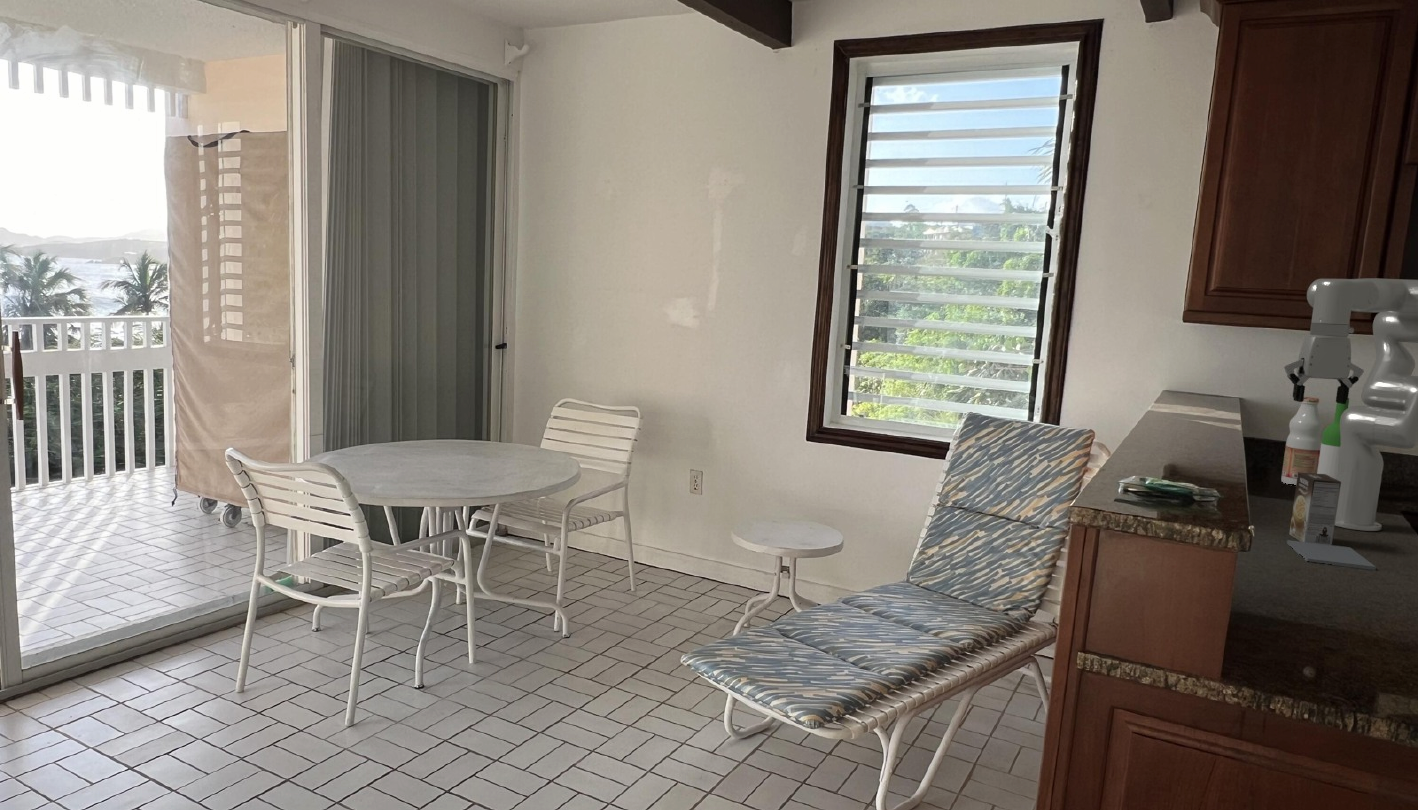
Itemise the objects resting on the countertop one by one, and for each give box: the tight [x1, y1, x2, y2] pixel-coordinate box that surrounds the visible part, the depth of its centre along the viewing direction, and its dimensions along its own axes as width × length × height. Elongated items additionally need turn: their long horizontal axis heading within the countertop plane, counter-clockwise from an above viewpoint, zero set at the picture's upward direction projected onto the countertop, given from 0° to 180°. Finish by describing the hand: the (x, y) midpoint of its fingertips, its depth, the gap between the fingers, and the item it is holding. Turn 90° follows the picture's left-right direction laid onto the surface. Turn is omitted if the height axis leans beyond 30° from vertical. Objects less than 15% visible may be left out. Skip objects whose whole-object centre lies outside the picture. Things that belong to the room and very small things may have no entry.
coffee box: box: [1289, 472, 1341, 545], centre depth 221 cm, size 9×6×16 cm
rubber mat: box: [1286, 539, 1377, 571], centre depth 208 cm, size 16×13×1 cm
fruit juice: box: [1280, 396, 1324, 485], centre depth 289 cm, size 9×9×28 cm
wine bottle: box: [1317, 397, 1350, 479], centre depth 275 cm, size 8×8×30 cm
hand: (1319, 402), depth 219 cm, fingers open, 9 cm apart
